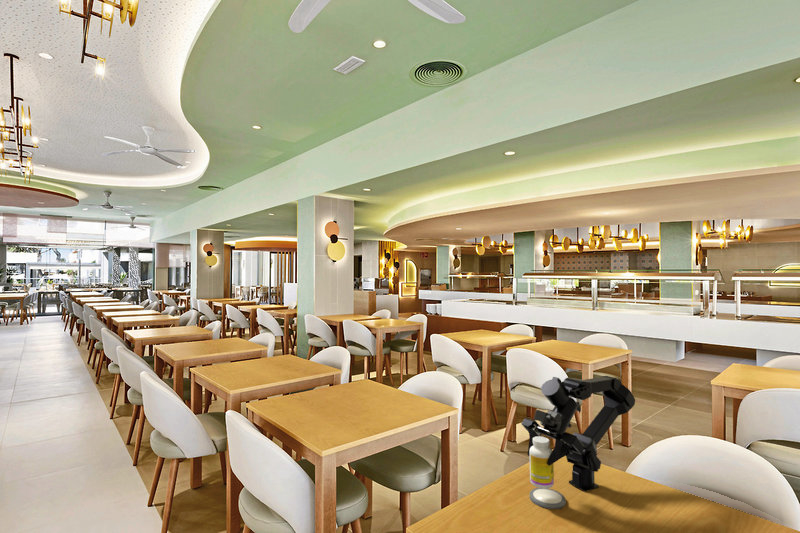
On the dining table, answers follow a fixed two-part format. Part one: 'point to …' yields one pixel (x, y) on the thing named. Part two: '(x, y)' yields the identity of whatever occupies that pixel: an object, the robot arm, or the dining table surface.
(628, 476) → the dining table surface
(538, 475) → the supplement bottle
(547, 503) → the push button
